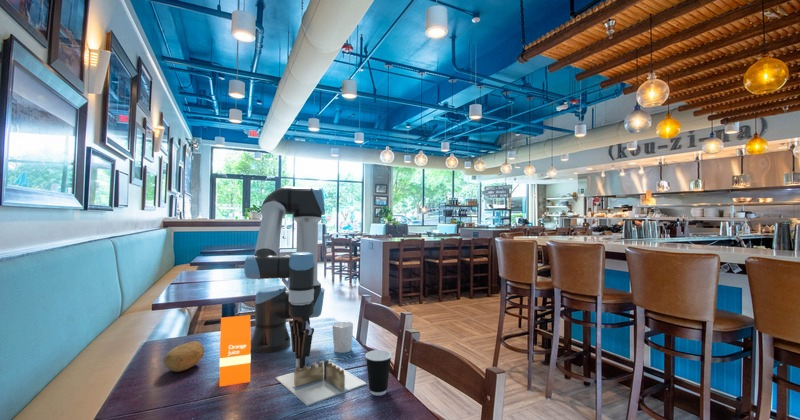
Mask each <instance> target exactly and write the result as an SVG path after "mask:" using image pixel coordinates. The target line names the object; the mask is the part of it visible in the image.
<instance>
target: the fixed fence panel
mask: <svg viewBox="0 0 800 420" xmlns="http://www.w3.org/2000/svg"><path fill="white" fill-rule="evenodd" d="M329 362H330V363H329ZM331 362H332V361H329V360H328V359H325V360H323V364H324V379H326V380H327V381H328V382H330V383H331V384H333V385H334V386H336V387H337V388H338V389H340V390H344V389H345V375H344V370H345V369H344V368H342V370H340V368H339V367H340V366H339V367H337V368H336V365H337V364H336V365H332V363H333V362H332V363H331ZM343 369H344V370H343Z"/></svg>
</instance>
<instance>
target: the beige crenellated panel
mask: <svg viewBox="0 0 800 420" xmlns="http://www.w3.org/2000/svg"><path fill="white" fill-rule="evenodd" d="M317 364H318V366H317V365H316V364H315V363H310V367H311V368H310V367H308V365H307V364H306V365H304V366H303V370H300V368H299V367H296V366H295V367H294V368H295V371H293V372H294V385H295V386H299V385H303V384H307V383H310V382H314V381H318V380H321V379H323V368H324V366H323V364H324V362H322V361H318V363H317ZM315 366H316V367H315Z"/></svg>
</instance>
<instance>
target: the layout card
mask: <svg viewBox="0 0 800 420" xmlns="http://www.w3.org/2000/svg"><path fill="white" fill-rule="evenodd" d="M330 362H331V363H332V365H336V368H337V367H339V368H340V370H342V369H343V370H344V375H345V389H344V390H340V389H338V388H337V387H336V386H334V385H333V384H331V383H330V382H328V381H327V380H326V379H324V368H323V379H321V380H318V381H314V382H310V383H307V384H303V385H299V386H295V385H294V372H295V371H292V372H290V373H287V374H283V375H280V376H276V377H275V380H277V381H278V382H279V383H280V384H282V385H283V386H284V387H285V388H286V389H287V390H288V391H289V392H290V393H292V394H293V395H294V396H295V397H296V398H298V400H300V401H301V402H302V403H303V404H304V405H306V406H307V407H309V406H311V405H315V404H317V403H319V402H322V401H325V400H328V399H330V398H333V397H336V396H339V395H341V394H344V393H348V392H350V391H352V390H356V389H358V388H361V387H363V386H367V382H365V381H364V380H362V379H361V378H359V377H357V376H356V375H354V374H352V373H351V372H349V371H347V370H345V369H344V368H342V367H341V366H339V365H338V364H335V363H334V362H332V361H329V363H330ZM316 366H318V365H315V367H316ZM323 366H324V363H323ZM309 368H311V366H310V367H309Z"/></svg>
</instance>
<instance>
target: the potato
mask: <svg viewBox="0 0 800 420" xmlns="http://www.w3.org/2000/svg"><path fill="white" fill-rule="evenodd" d="M204 349H205V348H204V346H203V344H202V343H201V342H200V341H196V340H193V341H188V342H186V343H184V344H180V345H177V346H175V347H174V348H172V349H171V350H169V351H168V352H167V353H166V355H165V356H164V358H163V359H164V360H163V363H164V367H166V369H168V370H170V371H172V372H174V373H175V372H177V373H179V372H180V373H181V372H184V371H186V370H188V369H190V368H192V367H194V366H195V365H197V364H198V363H199V362H200V361H201V360H202V359H203V356H204V354H205V350H204Z"/></svg>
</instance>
